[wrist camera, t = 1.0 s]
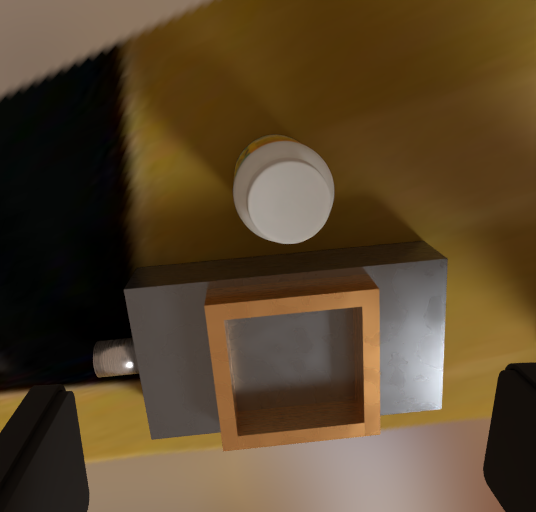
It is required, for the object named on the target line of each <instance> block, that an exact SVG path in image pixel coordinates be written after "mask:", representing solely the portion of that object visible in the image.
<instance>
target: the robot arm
mask: <svg viewBox="0 0 536 512" xmlns="http://www.w3.org/2000/svg"><path fill="white" fill-rule="evenodd" d="M483 471H484V477H485V480H486V483H487V485H488V486H489V488H490V489H491V491H492V492H493V494H494V495H495V497H496V498H497V500H498V501H499V503H500V504H501V506H502V507H503V509H504V510H505V512H536V363H511V364H509V365H507V367H506V368H505V370H503V371H501V372H500V374H499V377H498V382H497V388H496V394H495V400H494V406H493V412H492V418H491V424H490V430H489V436H488V442H487V448H486V454H485V461H484V467H483ZM86 475H87V474H86V468H85V461H84V455H83V448H82V442H81V435H80V429H79V422H78V416H77V409H76V403H75V397H74V394H73V392H72V391H66V390H65V388H64V386H63V385H41V386H33V387H32V388H31V389H30V390H29V392H28V393H27V395H26V396H25V398H24V399H23V400H22V402H21V403H20V405H19V406H18V408H17V409H16V411H15V412H14V414H13V415H12V417H11V418H10V419H9V421H8V422H7V424H6V425H5V427H4V428H3V430H2V431H1V433H0V512H87V510H88V505H89V487H88V481H87V476H86Z"/></svg>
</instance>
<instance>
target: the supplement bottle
mask: <svg viewBox="0 0 536 512" xmlns="http://www.w3.org/2000/svg"><path fill="white" fill-rule="evenodd" d="M233 197H234V203H235V207H236V210H237V212H238V214H239V216H240V218H241V220H242V221H243V223H244V224H245V225H246V226H247V227H248V228H249V229H250V230H251V231H252V232H253V233H255V234H256V235H258V236H260V237H262V238H264V239H266V240H269V241H274V242H277V243H282V244H295V243H299V242H303V241H305V240H307V239H309V238H311V237H312V236H314V235H315V234H316V233H318V232H319V230H320V229H321V228H322V227H323V226H324V224H325V222H326V221H327V219H328V216H329V213H330V211H331V208H332V205H333V201H334V182H333V178H332V175H331V172H330V170H329V168H328V166H327V164H326V163H325V161H324V160H323V159H322V158H321V157H320V156H319V155H318V154H317V153H316V152H315V151H314V150H312V149H311V148H309V147H307V146H305V145H303V144H302V143H300V142H298V141H296V140H295V139H293V138H291V137H288V136H284V135H267V136H263V137H261V138H258V139H256V140H255V141H253V142H252V143H250V144H249V145H248V146H247V147H246V148H245V149H244V150H243V151H242V153H241V154H240V156H239V158H238V160H237V163H236V166H235V171H234V184H233Z"/></svg>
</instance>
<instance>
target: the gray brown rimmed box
mask: <svg viewBox="0 0 536 512" xmlns="http://www.w3.org/2000/svg"><path fill="white" fill-rule="evenodd" d="M447 260H448V259H447V258H446V257H445V256H443V255H442V254H441V253H439V252H438V251H437V250H435V249H434V248H433V247H431V246H430V245H429V244H427V243H426V242H425V241H417V242H406V243H395V244H385V245H374V246H363V247H353V248H342V249H331V250H321V251H310V252H299V253H289V254H278V255H268V256H257V257H246V258H236V259H225V260H214V261H204V262H193V263H182V264H172V265H161V266H150V267H140V268H136V270H135V272H134V273H133V275H132V277H131V278H130V280H129V282H128V283H127V285H126V286H125V288H124V294H125V299H126V305H127V310H128V315H129V321H130V326H131V332H132V337H133V338H126V339H116V340H105V341H97V342H96V344H95V346H94V351H93V365H94V370H95V373H96V375H97V376H98V377H107V376H117V375H127V374H137V373H139V374H140V380H141V385H142V391H143V396H144V401H145V407H146V412H147V417H148V423H149V428H150V433H151V439H162V438H171V437H181V436H190V435H200V434H209V433H219V432H221V437H222V445H223V451H230V450H240V449H249V448H258V447H268V446H277V445H286V444H296V443H304V442H314V441H324V440H333V439H343V438H352V437H361V436H371V435H379V434H380V415H389V414H398V413H408V412H417V411H427V410H436V409H442V384H443V359H444V334H445V309H446V285H447Z"/></svg>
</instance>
